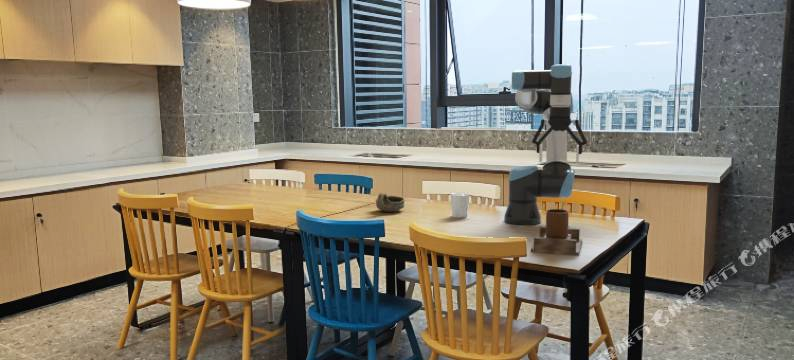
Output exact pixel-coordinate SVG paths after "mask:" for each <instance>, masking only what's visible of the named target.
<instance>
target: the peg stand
mask: <svg viewBox="0 0 794 360" xmlns="http://www.w3.org/2000/svg"><path fill="white" fill-rule="evenodd" d="M580 229H581V228H576V227H575V228H572V227H568V237H567V238H566V239H558V238H548V237H546V226H539V236H534V237H533V244H532V246H531V248H530V252H531V253H540V254H556V255H569V256H580V251H581V247H582V244H583V239H581V238H580Z"/></svg>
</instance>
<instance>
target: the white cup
mask: <svg viewBox="0 0 794 360" xmlns="http://www.w3.org/2000/svg"><path fill="white" fill-rule="evenodd" d="M469 196H470V193H467V192H452V193H450V205H451V217H452V218H458V219H460V218H462V219H463V218H468V211H469V199H470V197H469Z"/></svg>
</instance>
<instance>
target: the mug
mask: <svg viewBox="0 0 794 360" xmlns="http://www.w3.org/2000/svg"><path fill="white" fill-rule="evenodd" d="M569 218H570V217H569V211H568V210H567V209H566V210H565V209H563V208H555V209H554V208H553V209H547V210H546V214H545V227H546V237H548V238H558V239H566V238H567V237H568V228H569Z"/></svg>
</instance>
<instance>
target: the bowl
mask: <svg viewBox="0 0 794 360" xmlns="http://www.w3.org/2000/svg"><path fill="white" fill-rule="evenodd" d="M374 200H375V202H376V203H375V206H376V208H377V209H378V210H380V211H383V212H387V213H394V212H397V211H399V210H402V209H404V208H405V198H404V197H402V196H399V195H387V194H386V193H385V192H379V194H378V196H377V197H376V198H375V199H374Z"/></svg>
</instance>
